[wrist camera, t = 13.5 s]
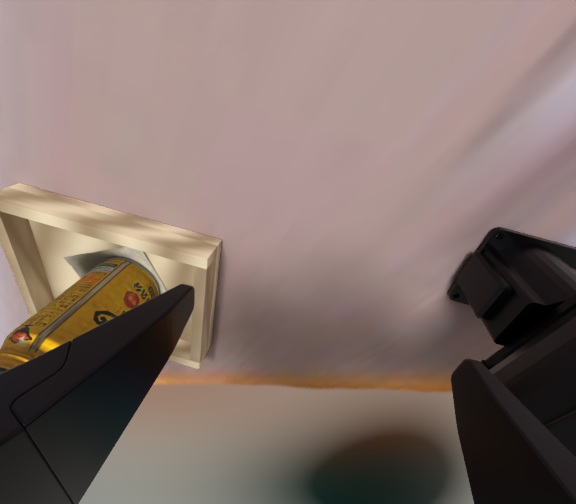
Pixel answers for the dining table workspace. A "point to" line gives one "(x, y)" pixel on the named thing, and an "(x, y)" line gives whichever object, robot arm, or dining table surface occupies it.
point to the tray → (97, 237)
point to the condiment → (84, 302)
